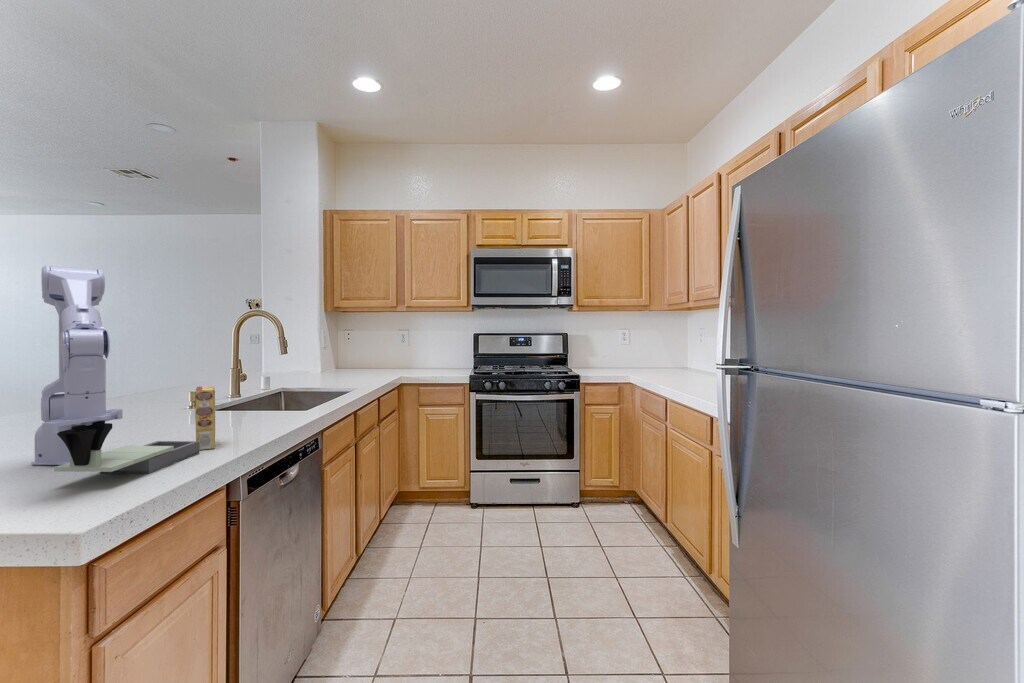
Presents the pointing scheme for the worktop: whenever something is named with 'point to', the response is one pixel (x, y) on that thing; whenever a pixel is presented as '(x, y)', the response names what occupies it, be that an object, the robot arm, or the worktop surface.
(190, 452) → the tub
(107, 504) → the worktop surface
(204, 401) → the candy box
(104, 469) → the lid
